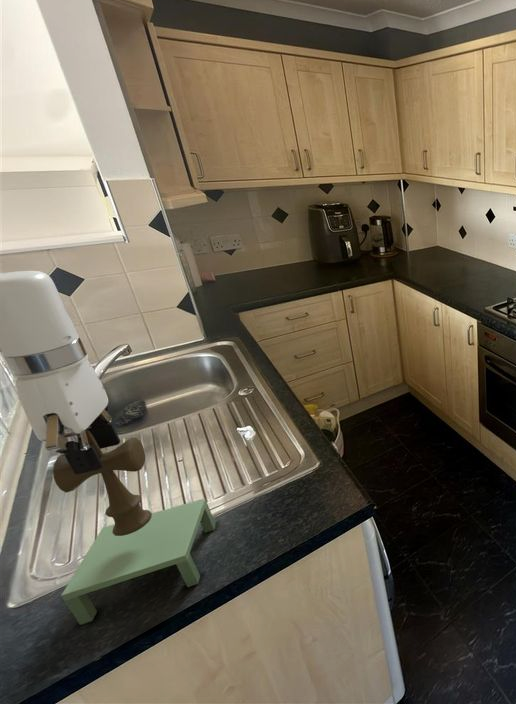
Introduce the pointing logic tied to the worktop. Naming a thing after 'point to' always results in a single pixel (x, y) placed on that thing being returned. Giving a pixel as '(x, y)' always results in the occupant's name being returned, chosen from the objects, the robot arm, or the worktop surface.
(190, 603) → the worktop surface
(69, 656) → the worktop surface
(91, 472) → the kendama
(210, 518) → the spice shelf
